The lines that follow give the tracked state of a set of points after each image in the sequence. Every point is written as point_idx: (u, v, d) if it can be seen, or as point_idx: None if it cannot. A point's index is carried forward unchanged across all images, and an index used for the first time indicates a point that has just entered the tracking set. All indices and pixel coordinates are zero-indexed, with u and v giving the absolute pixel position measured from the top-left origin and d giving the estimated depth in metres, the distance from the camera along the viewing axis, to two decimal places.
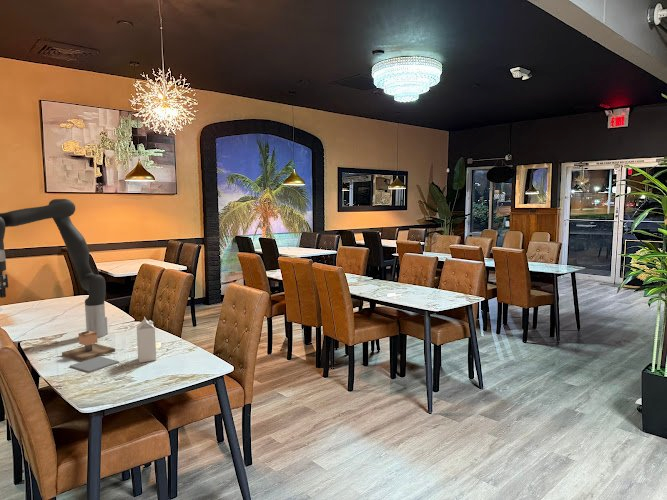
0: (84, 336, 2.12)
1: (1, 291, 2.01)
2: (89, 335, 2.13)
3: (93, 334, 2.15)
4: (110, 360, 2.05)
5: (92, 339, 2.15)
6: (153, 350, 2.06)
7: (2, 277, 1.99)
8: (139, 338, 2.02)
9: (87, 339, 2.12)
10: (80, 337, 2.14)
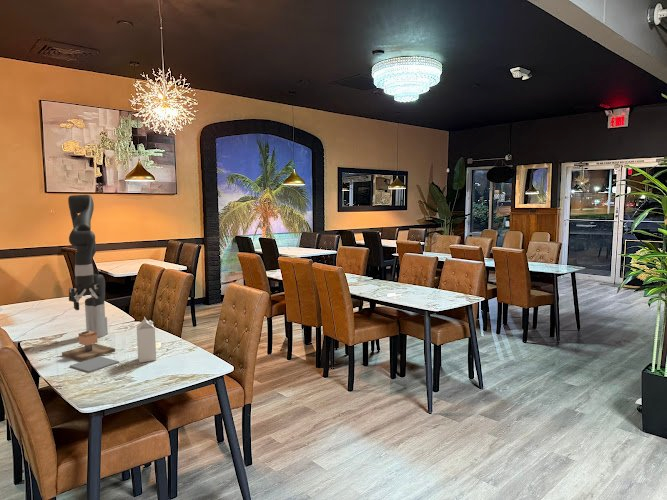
0: (84, 336, 2.12)
1: (96, 300, 2.18)
2: (89, 335, 2.13)
3: (93, 334, 2.15)
4: (110, 360, 2.05)
5: (92, 339, 2.15)
6: (153, 350, 2.06)
7: None
8: (139, 338, 2.02)
9: (87, 339, 2.12)
10: (80, 337, 2.14)
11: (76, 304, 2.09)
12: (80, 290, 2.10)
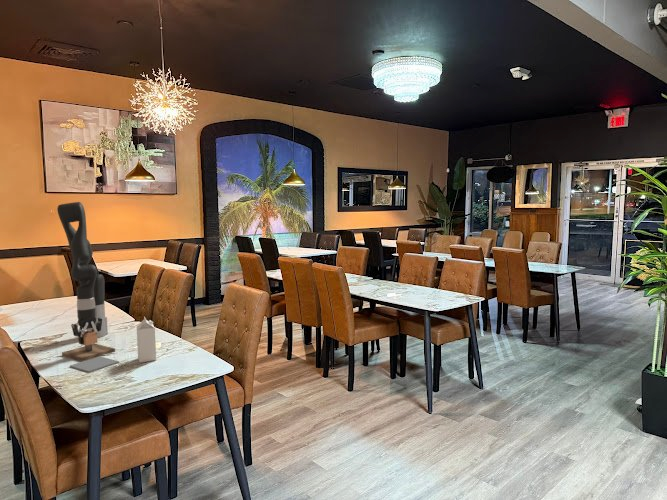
0: (84, 336, 2.12)
1: None
2: (89, 335, 2.13)
3: (93, 334, 2.15)
4: (110, 360, 2.05)
5: (92, 339, 2.15)
6: (153, 350, 2.06)
7: None
8: (139, 338, 2.02)
9: (87, 339, 2.12)
10: None
11: (81, 339, 2.12)
12: (82, 325, 2.12)
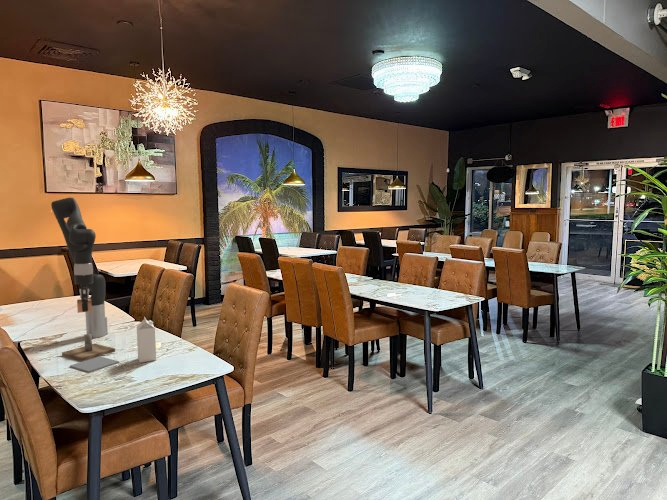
0: (89, 302, 2.06)
1: None
2: None
3: None
4: (110, 360, 2.05)
5: None
6: (153, 350, 2.06)
7: None
8: (139, 338, 2.02)
9: (91, 305, 2.08)
10: (81, 305, 2.05)
11: (86, 305, 2.05)
12: (87, 290, 2.06)
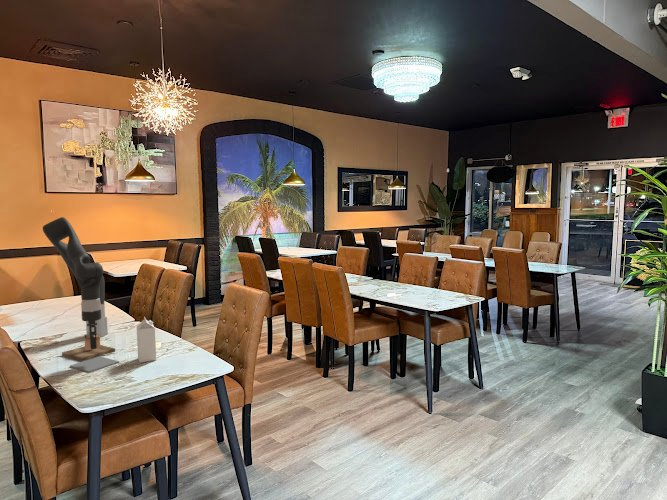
0: (97, 339, 1.98)
1: None
2: (99, 337, 2.00)
3: None
4: (110, 360, 2.05)
5: None
6: (153, 350, 2.06)
7: None
8: (139, 338, 2.02)
9: (99, 341, 1.99)
10: (89, 342, 1.97)
11: (95, 342, 1.97)
12: (95, 327, 1.97)
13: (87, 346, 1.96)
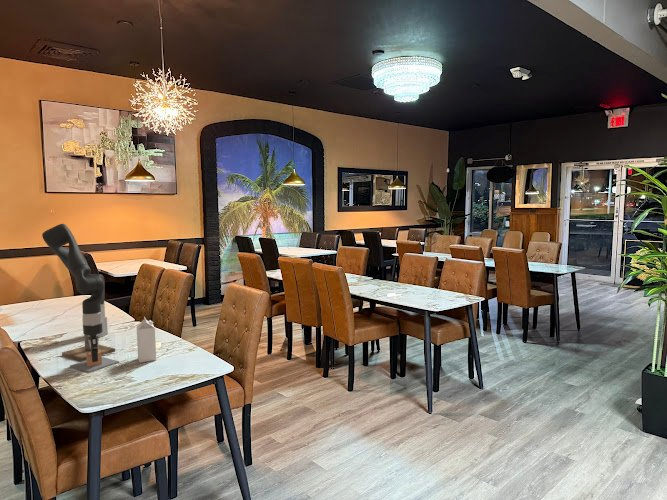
0: (99, 355, 1.99)
1: None
2: None
3: (100, 352, 2.03)
4: (110, 360, 2.05)
5: None
6: (153, 350, 2.06)
7: None
8: (139, 338, 2.02)
9: (101, 357, 2.00)
10: (91, 358, 1.98)
11: (96, 355, 1.97)
12: (96, 340, 1.98)
13: (89, 362, 1.97)
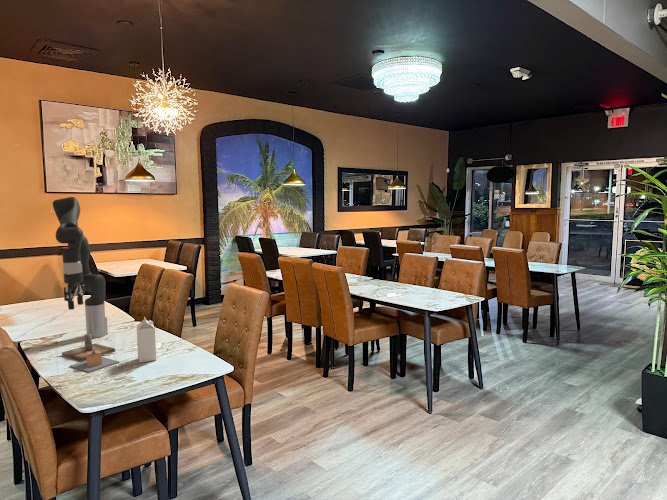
0: (99, 355, 1.99)
1: None
2: None
3: (100, 352, 2.03)
4: (110, 360, 2.05)
5: None
6: (153, 350, 2.06)
7: None
8: (139, 338, 2.02)
9: (101, 357, 2.00)
10: (91, 358, 1.98)
11: (72, 303, 2.03)
12: (73, 288, 2.04)
13: (89, 362, 1.97)
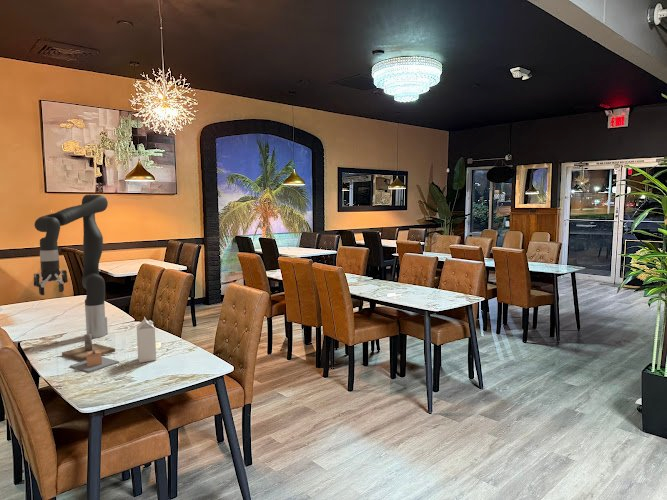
0: (99, 355, 1.99)
1: (62, 286, 2.20)
2: None
3: (100, 352, 2.03)
4: (110, 360, 2.05)
5: None
6: (153, 350, 2.06)
7: None
8: (139, 338, 2.02)
9: (101, 357, 2.00)
10: (91, 358, 1.98)
11: (41, 289, 2.12)
12: (45, 275, 2.13)
13: (89, 362, 1.97)
